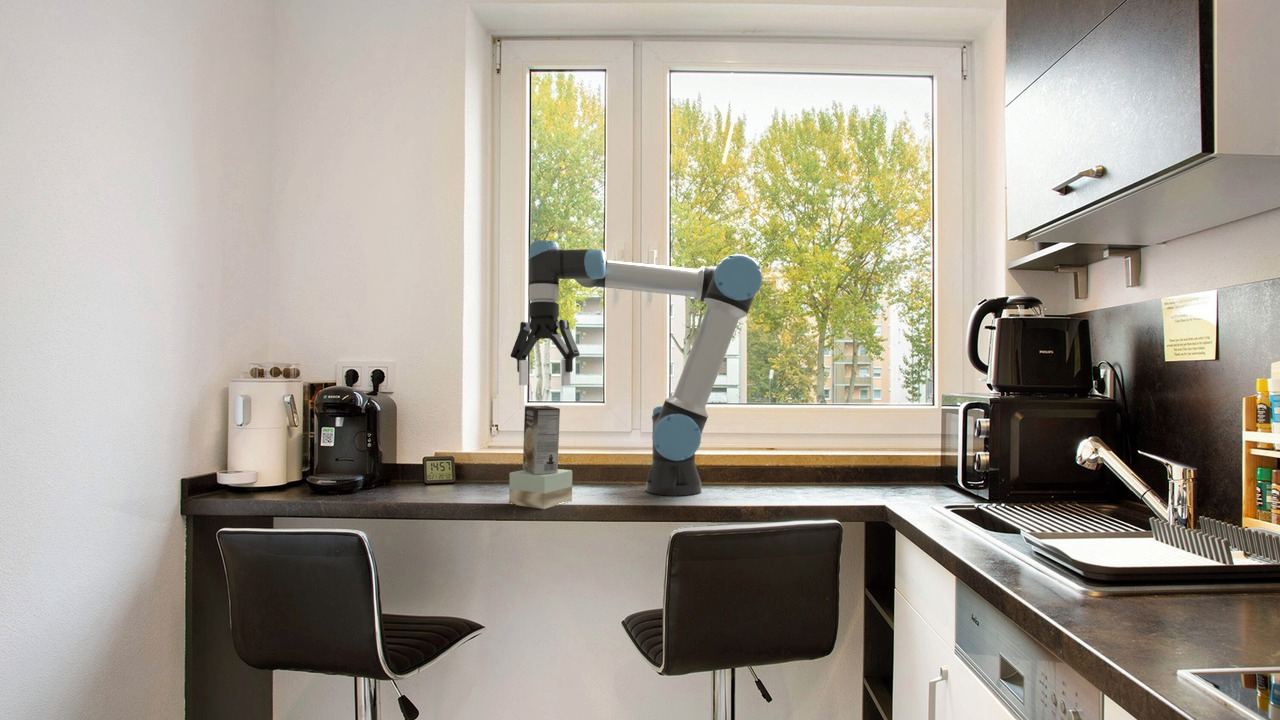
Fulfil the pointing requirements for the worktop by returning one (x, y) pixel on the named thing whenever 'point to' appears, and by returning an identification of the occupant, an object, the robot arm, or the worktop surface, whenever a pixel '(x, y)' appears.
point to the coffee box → (541, 439)
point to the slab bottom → (540, 498)
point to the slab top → (540, 481)
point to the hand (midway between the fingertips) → (544, 385)
